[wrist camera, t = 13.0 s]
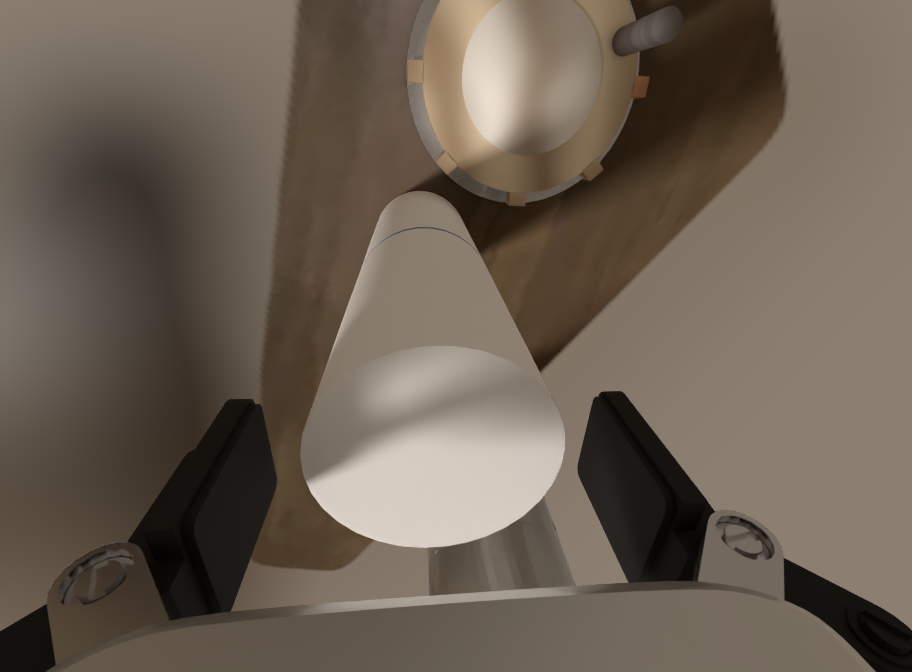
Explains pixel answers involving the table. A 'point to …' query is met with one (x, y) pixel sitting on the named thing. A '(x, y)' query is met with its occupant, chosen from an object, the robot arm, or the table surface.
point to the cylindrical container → (429, 393)
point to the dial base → (428, 134)
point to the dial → (533, 85)
